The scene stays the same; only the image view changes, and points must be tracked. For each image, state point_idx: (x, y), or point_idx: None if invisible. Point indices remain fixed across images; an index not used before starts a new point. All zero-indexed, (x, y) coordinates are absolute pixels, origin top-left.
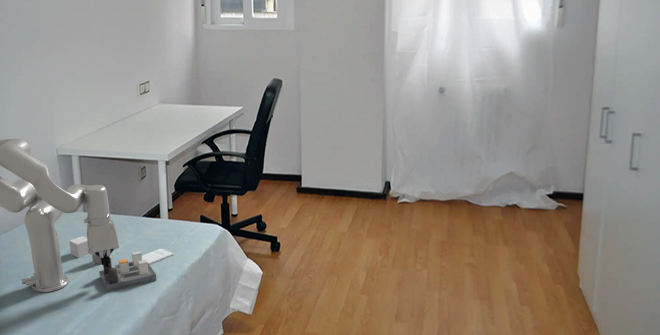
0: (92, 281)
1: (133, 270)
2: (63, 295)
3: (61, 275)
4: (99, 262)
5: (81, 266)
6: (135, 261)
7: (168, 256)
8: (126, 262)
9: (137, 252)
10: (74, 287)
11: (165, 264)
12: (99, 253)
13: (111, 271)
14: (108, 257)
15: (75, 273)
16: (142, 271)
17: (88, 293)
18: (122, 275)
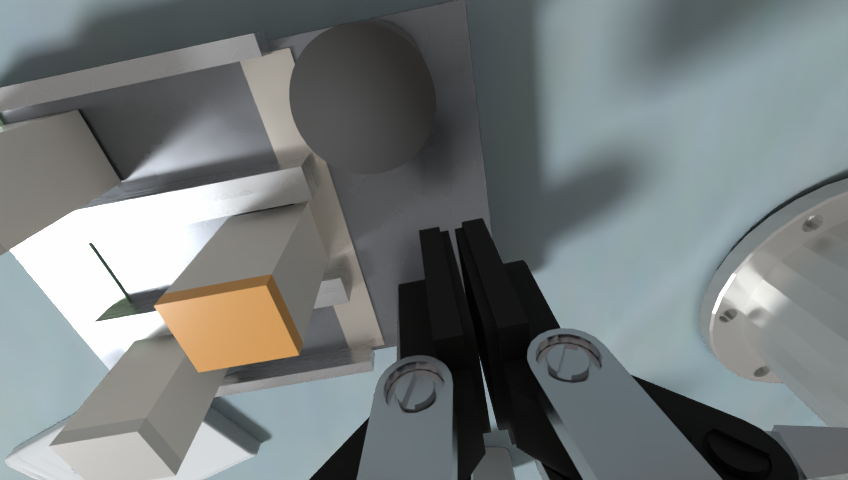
0: (549, 249)
1: None
2: (831, 66)
3: (828, 303)
4: None
5: None
6: (167, 365)
7: (34, 440)
8: (186, 291)
9: (106, 467)
10: (696, 191)
11: (20, 357)
12: (668, 432)
13: (382, 27)
14: (420, 351)
15: None
16: (3, 130)
17: (628, 27)
18: (284, 165)
